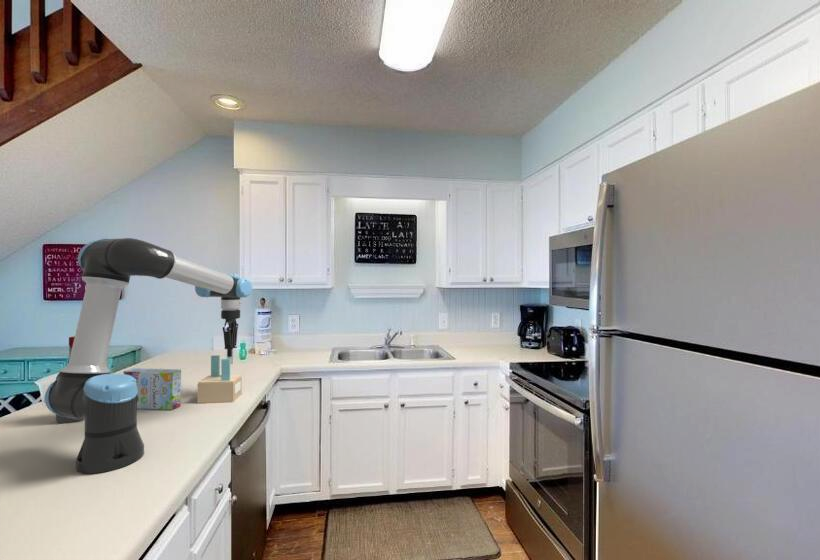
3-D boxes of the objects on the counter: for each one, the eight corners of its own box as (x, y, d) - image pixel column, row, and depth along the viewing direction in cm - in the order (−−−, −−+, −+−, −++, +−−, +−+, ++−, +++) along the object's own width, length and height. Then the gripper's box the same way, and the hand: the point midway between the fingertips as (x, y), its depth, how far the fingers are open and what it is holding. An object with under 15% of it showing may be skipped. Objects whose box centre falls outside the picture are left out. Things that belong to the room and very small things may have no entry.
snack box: (182, 405, 153) (182, 368, 153) (171, 410, 147) (171, 372, 147) (133, 404, 155) (133, 367, 155) (121, 408, 149) (121, 370, 149)
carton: (233, 402, 157) (233, 382, 157) (197, 403, 155) (197, 384, 155) (242, 394, 168) (242, 376, 168) (208, 395, 166) (208, 377, 166)
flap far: (208, 377, 166) (208, 355, 166) (241, 376, 168) (241, 354, 168) (203, 380, 161) (203, 357, 161) (237, 379, 163) (237, 356, 163)
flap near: (233, 382, 157) (233, 359, 157) (197, 383, 156) (197, 360, 155) (237, 379, 162) (237, 357, 162) (203, 380, 161) (203, 357, 161)
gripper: (234, 310, 158) (234, 366, 158) (244, 308, 171) (244, 360, 171) (215, 310, 157) (215, 367, 157) (227, 308, 170) (226, 360, 170)
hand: (230, 363), depth 164 cm, fingers closed
